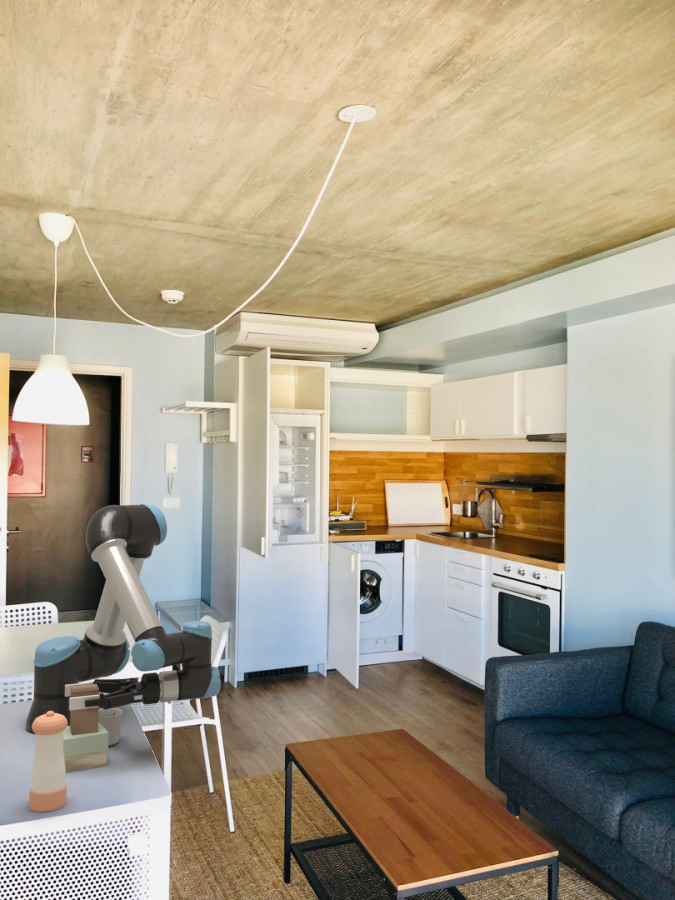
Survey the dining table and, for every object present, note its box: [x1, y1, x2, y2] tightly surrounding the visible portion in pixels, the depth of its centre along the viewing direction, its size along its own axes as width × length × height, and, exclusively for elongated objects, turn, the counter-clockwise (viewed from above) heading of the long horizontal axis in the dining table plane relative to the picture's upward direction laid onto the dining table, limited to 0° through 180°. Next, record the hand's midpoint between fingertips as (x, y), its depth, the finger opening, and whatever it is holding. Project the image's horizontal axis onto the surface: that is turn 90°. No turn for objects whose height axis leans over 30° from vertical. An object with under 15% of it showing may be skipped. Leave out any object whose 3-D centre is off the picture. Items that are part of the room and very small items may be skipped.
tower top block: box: [63, 722, 109, 757], centre depth 178 cm, size 10×10×4 cm
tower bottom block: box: [64, 750, 108, 773], centre depth 178 cm, size 10×10×4 cm
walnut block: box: [70, 684, 100, 735], centre depth 179 cm, size 6×6×10 cm
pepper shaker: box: [28, 711, 68, 813], centre depth 155 cm, size 7×7×19 cm
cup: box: [98, 707, 124, 747], centre depth 192 cm, size 11×8×8 cm
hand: (67, 697), depth 177 cm, fingers open, 11 cm apart
